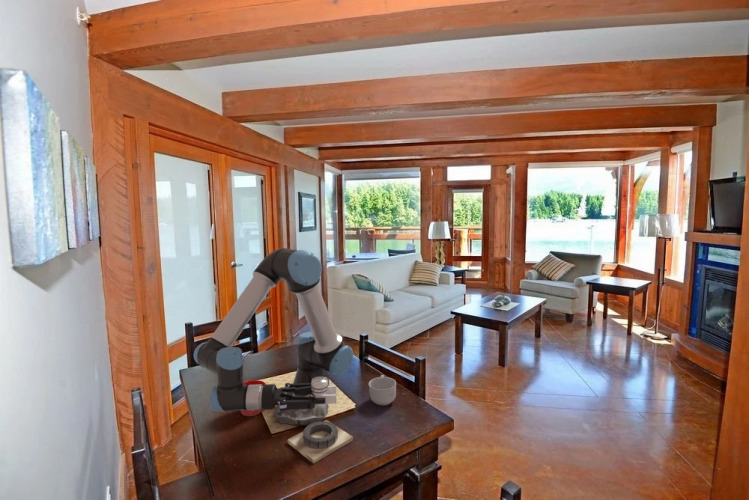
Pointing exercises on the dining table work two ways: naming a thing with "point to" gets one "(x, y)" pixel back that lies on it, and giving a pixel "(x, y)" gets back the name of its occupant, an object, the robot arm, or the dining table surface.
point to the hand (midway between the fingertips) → (336, 394)
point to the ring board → (315, 452)
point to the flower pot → (250, 412)
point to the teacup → (382, 390)
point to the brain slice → (296, 416)
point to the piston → (319, 388)
